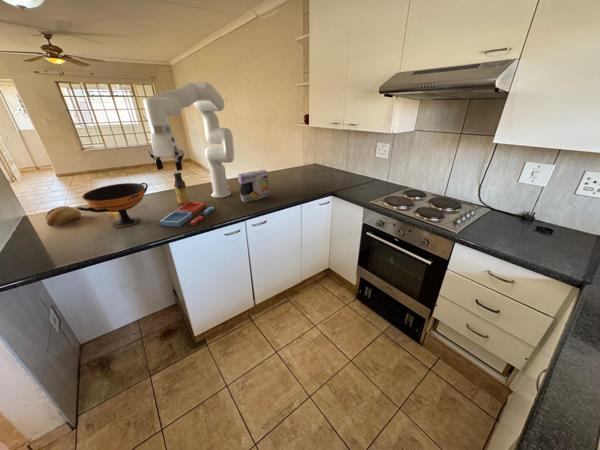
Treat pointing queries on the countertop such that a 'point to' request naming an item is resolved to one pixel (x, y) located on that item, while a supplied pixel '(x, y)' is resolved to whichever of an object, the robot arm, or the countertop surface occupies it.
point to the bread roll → (62, 215)
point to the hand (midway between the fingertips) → (170, 169)
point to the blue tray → (176, 218)
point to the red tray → (192, 207)
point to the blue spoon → (208, 210)
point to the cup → (116, 200)
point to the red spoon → (196, 220)
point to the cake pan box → (253, 185)
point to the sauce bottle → (180, 189)
